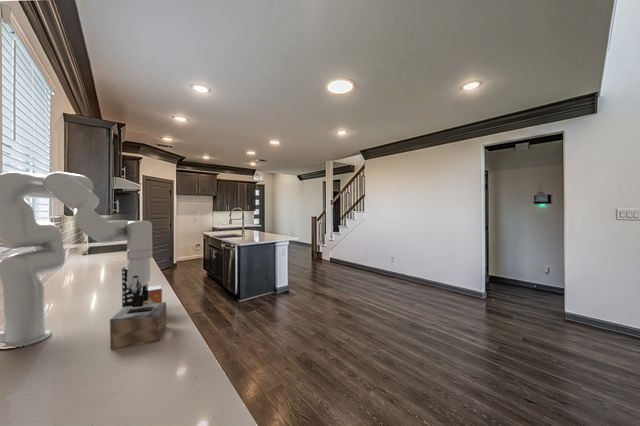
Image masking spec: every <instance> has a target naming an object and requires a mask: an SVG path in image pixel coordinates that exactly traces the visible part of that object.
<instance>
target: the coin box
mask: <svg viewBox="0 0 640 426" xmlns="http://www.w3.org/2000/svg"><path fill="white" fill-rule="evenodd" d="M109 329H110V330H109V331H110V332H109V335H110V339H109V340H110V343H109V344H110V350H114V349H120V348H121V349H122V348H127V347H133V346H139V345H145V344H152V343H158V342H160V341H161V339H162V337H163V334H164V332H165V330H166V329H167V302H166V301H165V302H164V301H162V302H161V303H153V304H144V305H143V306H142V307H134V308H133V307H132V306H126V307H123V308H122V307H121V309H120V310H119V311H118V312H116V314H114V315H113V316H112V317H111V318H110V319H109Z"/></svg>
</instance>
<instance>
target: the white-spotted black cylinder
mask: <svg viewBox="0 0 640 426" xmlns="http://www.w3.org/2000/svg"><path fill="white" fill-rule="evenodd" d="M127 273H128V266H126V267H123V268H121V301H122V303H121V305H122V306H121V309H122V308H123V307H126V306H132V291H131V288H132V287H131V288H127ZM137 287H138V285H137ZM137 290H139V289H137ZM139 291H140V290H139Z"/></svg>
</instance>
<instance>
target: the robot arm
mask: <svg viewBox="0 0 640 426" xmlns="http://www.w3.org/2000/svg"><path fill="white" fill-rule="evenodd" d="M93 191H94V184H93V181H92V180H91V179H90V178H88V177H87V176H85V175H81V174H79V173H78V174H77V173H71V172H66V171H65V172H63V171H55V172H50V173H48V174H47V175H45V174H39V173H33V172H26V171H25V172H24V171H23V172H22V171H6V172H1V173H0V241H1V244H2V246H4V247H5V248H6V249H9V250H10V249H11V250H22V249H23V250H24V249H30V248H34V249H35V250H31V251H30V250H29V251H24V252H17V253H13V254H10V255H8V256H6V257H4V258H3V259H2V260H1V261H0V280H1V286H2V294H3V295H2V296H3V331H0V343H5V344H6V345H5V346H2V347H20V348H23V347H22V346H24V347H27V346H31V345H33V344H36V343H39V342H42V341H44V340H46V339H47V338H49V337H50V336H51V335H52V331H51V329H47V328H46V315H45V314H46V309H45V307H46V306H45V305H46V304H45V302H46V301H45V287H44V284H43V283H42V281H41V280H40V279H39V277H40V276H43V275H44V276H45V275H48V274H52V273H55V272H57V271H59V270H61V269H62V268H63V267H64V265H65V260H66V256H65V249H64V244H63V237H62V232H61V230H60V228H59V227H58V226H57V225H56V224H55V223H53V222H50V221H36V217H35V211H34V209H33V206H32V205H31V204H30V203H29V202H28V201H27V200H26V199H25V198H26V197H29V198H46V199H48V198H49V199H50V198H51V199H58V200H59V202H61V203H62V204H63V205H64V206H66V207H67V208H68V209H69V210H71V211H72V212H73V218H74V221H75V225H76V226H77V227H78V229H79V230H80V231H82V233H84V234H85V235H86V236H88V237H89V238H91V239H92V241H96V242H97V243H98V242H99V243H100V244H101V243H102V244H108V243H114V242H120V241H125V240H126V259H127V261H128V264H127V267H128V273H127V288H131V287H132V288H131V291H132V307H133V308H134V307H142V306H143V301H147V300H148V287H149V282H150V281H151V260H150V259H152V258H153V224H152V221H149V220H127V219H126V220H125V219H121V220H120V219H119V220H117V219H115V220H113V219H112V220H106V219H105V218H103V217H102V216H101V215H100V214H98V213H97V212H96V210H95V209H96V208H97V207H98V206H99V204H100V198H99V197H98V195H96V194H95V193H93ZM137 285H138V287H137ZM137 289H139V290H140V291H139V290H137Z"/></svg>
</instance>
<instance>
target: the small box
mask: <svg viewBox="0 0 640 426" xmlns="http://www.w3.org/2000/svg"><path fill="white" fill-rule="evenodd" d="M162 289H163V287H162V285H152V286H148V300H147V301H143V305H144V304H153V303H161V302H163V290H162Z"/></svg>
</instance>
